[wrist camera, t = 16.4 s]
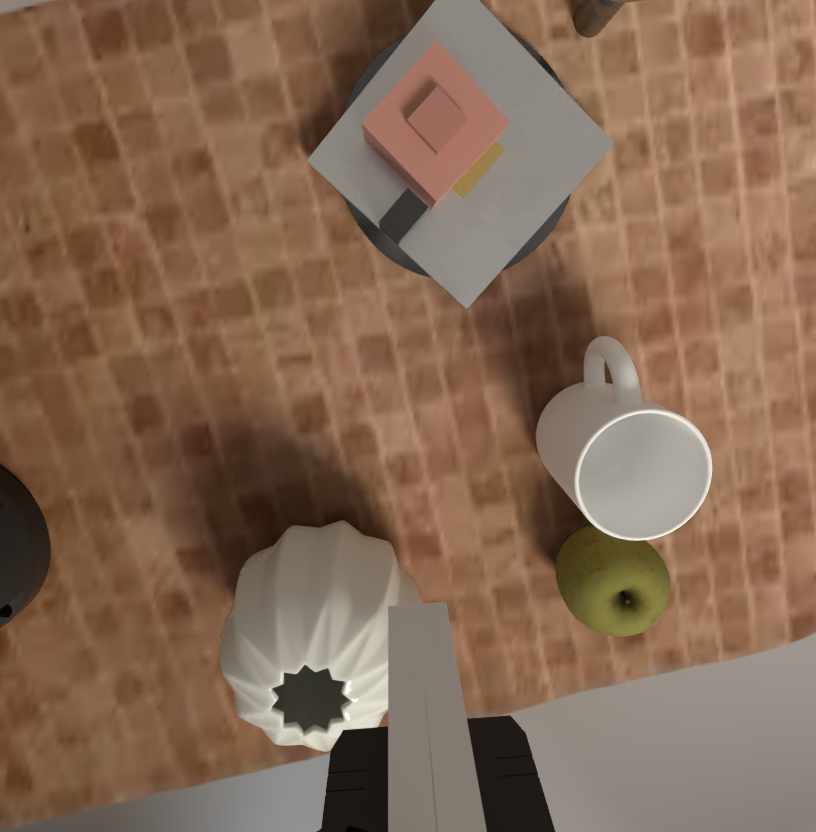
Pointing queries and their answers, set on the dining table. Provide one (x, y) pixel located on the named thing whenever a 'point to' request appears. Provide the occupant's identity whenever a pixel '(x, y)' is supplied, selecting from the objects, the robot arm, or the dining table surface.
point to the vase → (314, 634)
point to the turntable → (490, 175)
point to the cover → (433, 125)
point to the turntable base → (379, 237)
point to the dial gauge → (596, 15)
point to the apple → (612, 582)
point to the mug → (623, 451)
